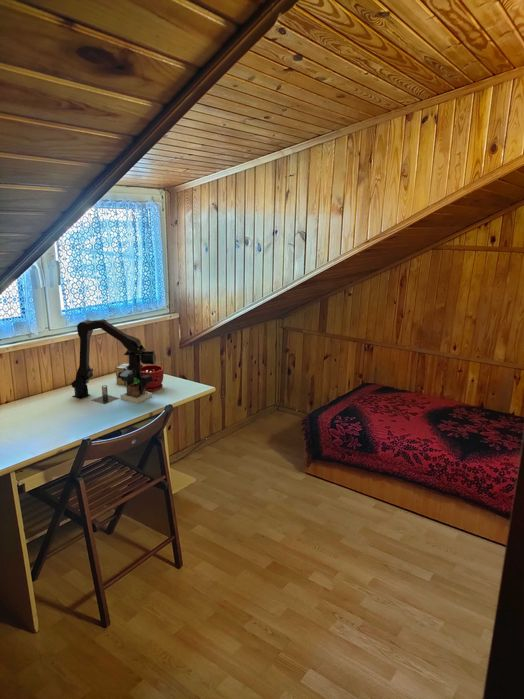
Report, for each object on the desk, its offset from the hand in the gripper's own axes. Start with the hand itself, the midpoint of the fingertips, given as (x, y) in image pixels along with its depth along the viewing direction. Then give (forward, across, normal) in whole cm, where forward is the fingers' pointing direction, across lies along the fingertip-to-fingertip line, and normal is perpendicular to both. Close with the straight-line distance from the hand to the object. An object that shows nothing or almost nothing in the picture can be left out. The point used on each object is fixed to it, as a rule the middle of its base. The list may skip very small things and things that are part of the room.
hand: (136, 392), depth 236 cm
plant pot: (+3, -4, +15) cm, 16 cm away
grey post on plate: (+3, -12, -10) cm, 15 cm away
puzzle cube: (+3, -22, +16) cm, 27 cm away
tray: (+3, 0, 0) cm, 3 cm away
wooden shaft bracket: (+1, 0, 0) cm, 1 cm away
